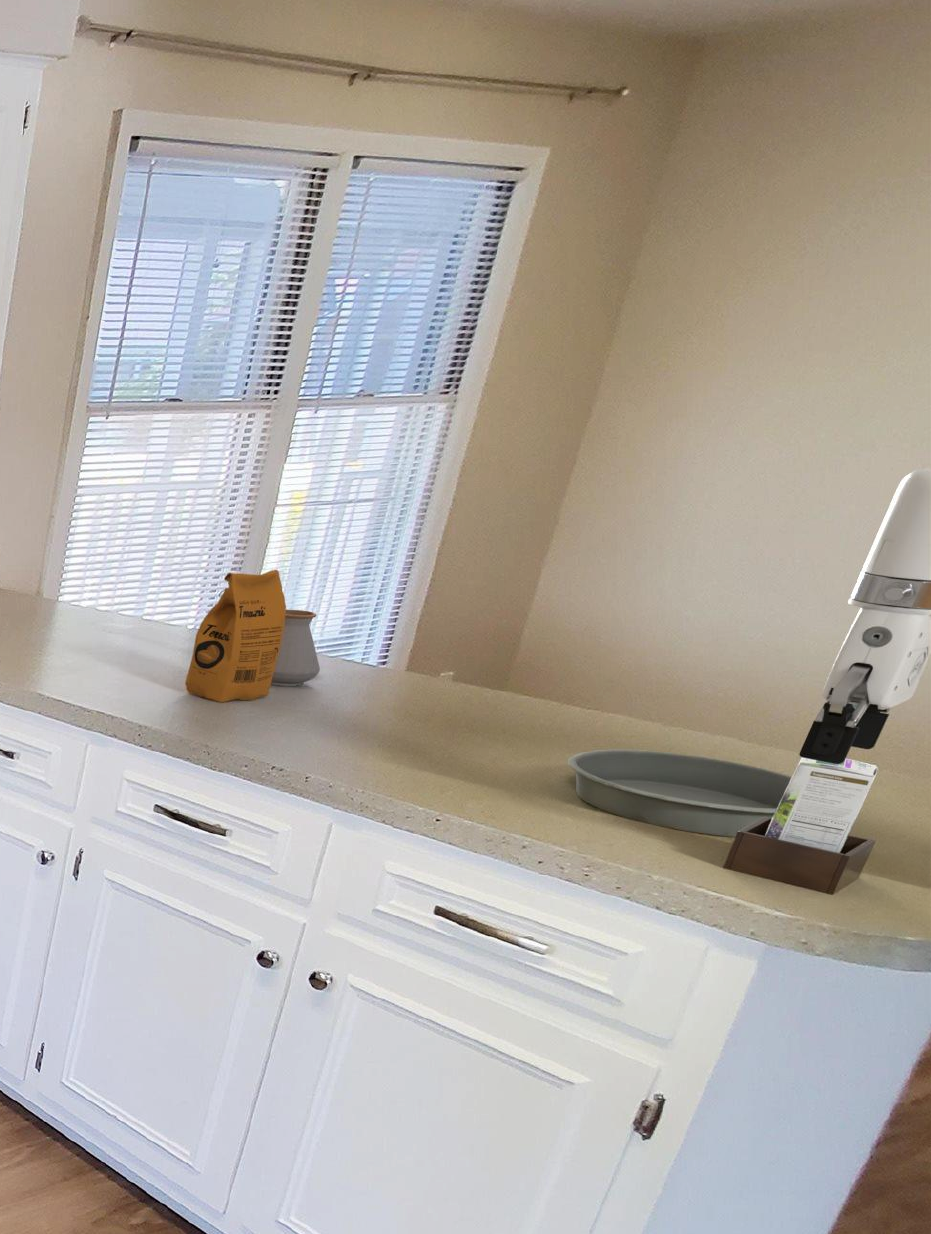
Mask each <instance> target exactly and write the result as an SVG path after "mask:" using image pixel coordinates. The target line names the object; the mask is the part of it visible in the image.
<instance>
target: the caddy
mask: <svg viewBox="0 0 931 1234" xmlns="http://www.w3.org/2000/svg"><path fill="white" fill-rule="evenodd" d="M771 820H772V818H769V817H765V818H763V819H761V820H759V821H757V822H755V823H753V824H751V825H749V826H747V827H745V828H743V829H741V830H740V831H738V832H737V834H736V837H734V839H733V842H732V843H731V847H730V849H729V852H728V854H727V857H726V860H725V862H724V864H723V866H722V869H725V870H729V871H733V872H736V873H740V874H745V875H749V876H753V877H756V878H762V879H765V880H769V881H774V882H778V883H781V884H785V885H790V886H794V887H798V888H801V889H806V890H809V891H810V890H811V891H813V892H818V893H823V894H826V895H831V896H834V895H836V894H837V893H838V892H840V891H841V890H843V889H844V888H846V887H848V886H849V885H851V884H852V883H854V882H855V881H857V880H859V879H860V877H861V875H862V873H863V870H864V868H865V866H866V863H867V861H868V859H869V857H870V855H871V852H872V851H873V848H874V846H875V844H876V839H870V838H867V837H861V836H857V835H852V834H849V835H848V837H847V839H846V841H845V843H844V846H843V848H842V850H841V852H840V853H838V852H833V851H829V850H824V849H820V848H815V847H811V846H806V845H802V844H797V843H793V842H789V841H784V840H780V839H775V838H771V837H766V836H765V834H766V832H767V830H768V827H769V825H770V822H771Z"/></svg>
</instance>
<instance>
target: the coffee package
mask: <svg viewBox="0 0 931 1234" xmlns="http://www.w3.org/2000/svg"><path fill="white" fill-rule="evenodd" d="M280 576H281V575H280V572H279V570H278V569H271V570H269V571H267V572H264V573H262V574H251V573H250V574H249V573H239V572H238V573H237V572H235V573H234V572H228V573H227V574H226V575H225V577H224V578H223V579H224V581H225V582H227V583H228V587H226V588H227V589H226V588H225V589H226V590H225V589H224V590H225V591H223V592H222V594H221V595H220V597H219V600H218V602H216V604H215V605H214V606H212V608H211V609H210V610H209V612H208V613H206V615H205V617H204V618H203V619H202V621H201V623H200V625H199V628H198V630H197V632H196V634H195V639H194V644H193V645H194V646H193V651H192V657H191V659H190V664H189V668H188V673H187V675H186V679H185V683H184V684H185V687H186V691H187V693H189V694H191V695H192V694H193V695H197V696H198V697H199V698H205V699H206V700H209V701H214V702H217V703H226V702H230V701H234V700H241V701H254V700H258V699H260V698H264V697H268V696H269V693H270V688H271V685H272V684H271V681H272V676H273V673H274V669H275V666H276V662H277V658H278V654H279V651H280V647H281V641H282V635H283V631H284V625H285V616H286V610H287V605H286V596H285V594H284V591H283V585H282V581H281V577H280Z"/></svg>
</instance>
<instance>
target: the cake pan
mask: <svg viewBox="0 0 931 1234" xmlns="http://www.w3.org/2000/svg"><path fill="white" fill-rule="evenodd" d="M567 763H568V766H569V768H570V769H571V770H572V771H574V772H575V778H576V779H575V780H576V785H575V786H576V787H575V788H576V794H577V796H578V797H579V799H580V800H581V801H584V802H585V803H587V804H588V803H589V805H591V806H593V807H595V808H597V809H599V810H602V811H605V812H606V813H610V814H613V815H615V816H617V817H618V816H619V817H622V818H626V819H628V820H632V821H636V822H641V823H643V824H644V823H645V824H650V825H652V824H653V826H657V827H661V828H666V829H672V830H677V831H682V832H683V831H684V832H688V833H689V832H690V833H696V834H703V835H709V836H710V835H711V836H718V837H719V836H720V837H727V838H729V837H730V838H735V837H736V834H737V832H738V831H740V830H741V829H743V828H745V827H747V826H749V825H751V824H753V823H755V822H757V821H759V820H761V819H763V818H765V817H769V818H773V815H774V813H775V811H776V809H777V807H778V805H779V802H780V800H781V798H782V796H783V794H784V792H785V790H786V788H787V786H788V784H789V782H790V780H791V778H792V776H791V775H788V774H784V773H781V772H777V771H774V770H770V769H766V768H762V767H757V766H754V765H748V764H743V763H737V762H734V761H728V760H722V759H718V758H712V757H706V756H705V757H704V756H697V755H691V754H683V753H677V752H676V753H674V752H668V751H667V752H665V751H657V750H656V751H655V750H654V751H653V750H643V749H642V750H641V749H601V750H590V751H584V752H579V753H576V754H574V755H572V756H570V758H568V760H567Z"/></svg>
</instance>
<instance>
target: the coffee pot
mask: <svg viewBox="0 0 931 1234" xmlns="http://www.w3.org/2000/svg"><path fill="white" fill-rule="evenodd" d="M227 588H228V587H225V588H224V589H223V590H221V591H220V592H219V594H218V597H221V595H222V594H223V593H224V591H225V590H226V589H227ZM316 617H317V613H315V612H313V611H310V610H309V611H308V610H299V609H286V616H285V625H284V631H283V635H282V641H281V647H280V651H279V654H278V658H277V662H276V666H275V669H274V673H273V676H272V681H271V685H274V686H282V687H283V686H284V687H297V686H296V685H299V686H302V685H301V684H303V683H304V684H305V683H307V682H309V681H311V680H313V679H314V678H316V677H317V675H319V673H320V671H321V666H320V663H319V658H318V655H317V651H316V647H315V643H314V638H313V634H312V631H311V627H310V624H311V623H312V621H313V620H314V618H316ZM304 684H303V685H304Z"/></svg>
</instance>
